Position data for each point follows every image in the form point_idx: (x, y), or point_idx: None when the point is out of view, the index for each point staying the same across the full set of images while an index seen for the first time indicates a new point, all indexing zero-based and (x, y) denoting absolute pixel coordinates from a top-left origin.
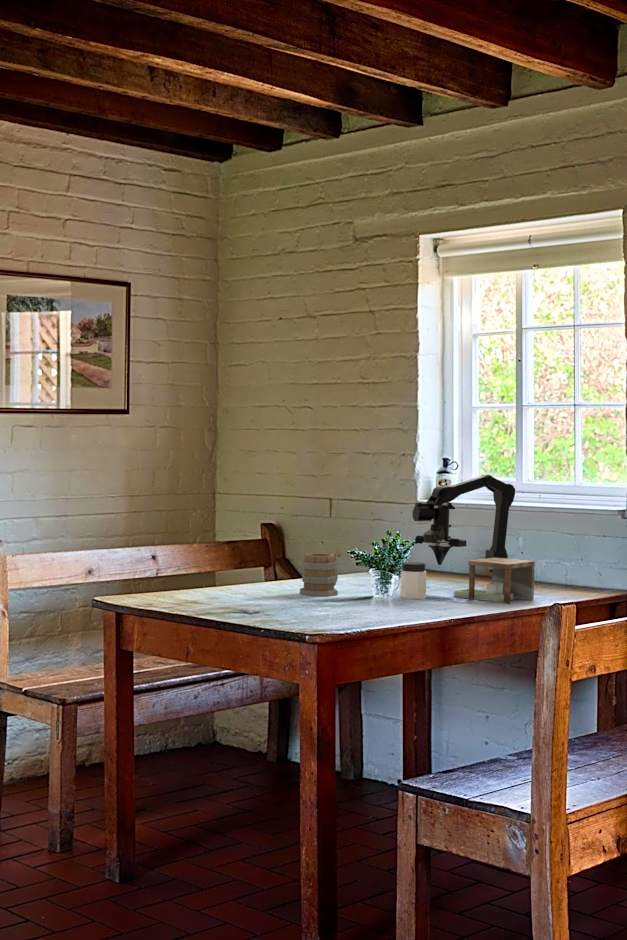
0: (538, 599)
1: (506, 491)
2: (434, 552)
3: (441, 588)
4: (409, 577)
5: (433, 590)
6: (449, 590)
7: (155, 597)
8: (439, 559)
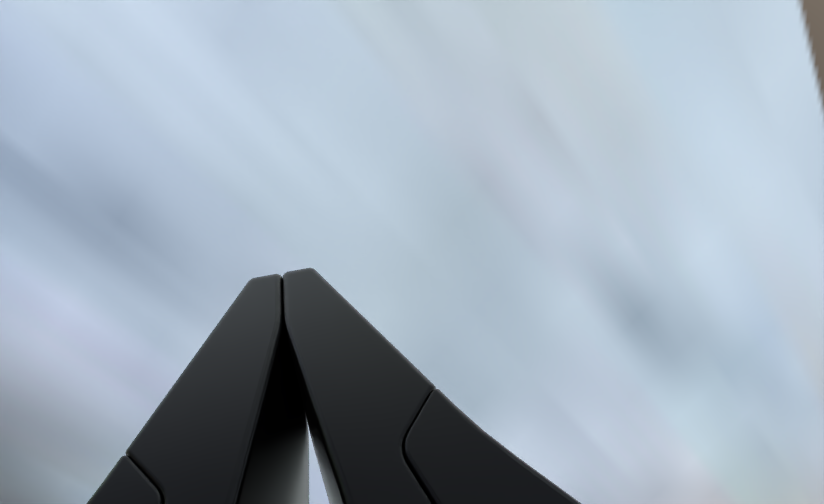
0: None
1: None
2: (497, 470)
3: (501, 366)
4: None
5: (461, 197)
6: None
7: None
8: (243, 355)
